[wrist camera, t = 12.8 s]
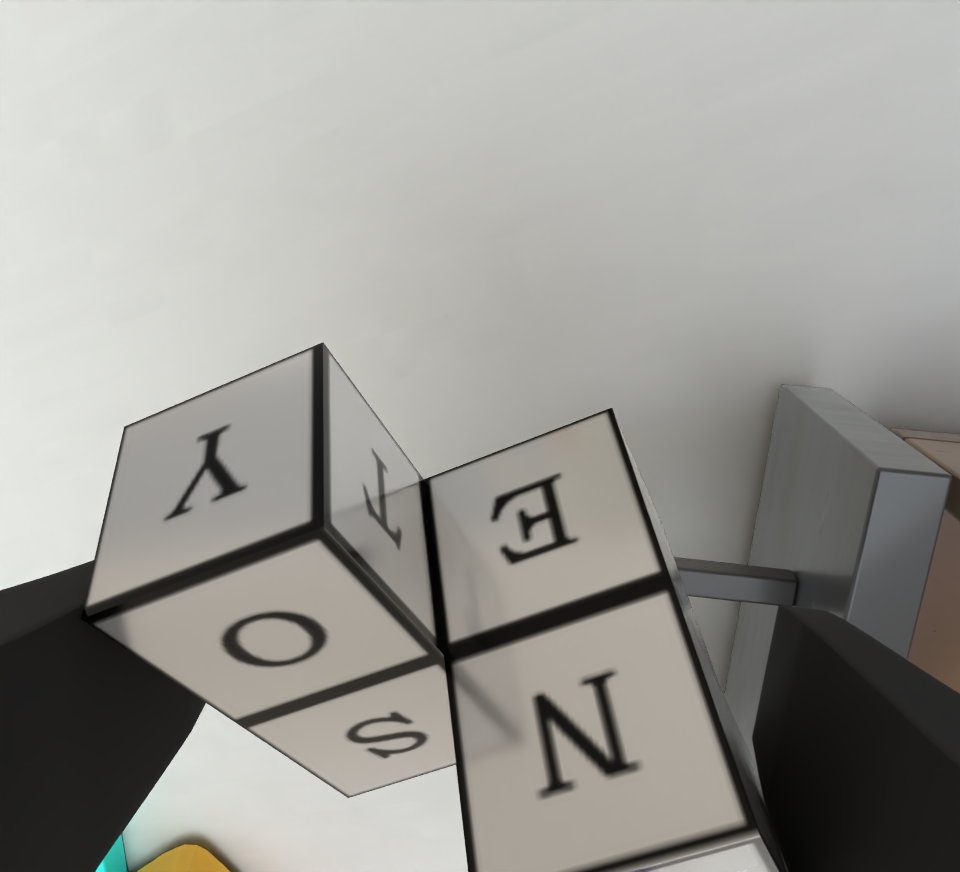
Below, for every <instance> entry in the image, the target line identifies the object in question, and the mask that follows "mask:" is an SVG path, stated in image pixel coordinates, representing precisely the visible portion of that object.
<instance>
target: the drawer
mask: <svg viewBox="0 0 960 872" xmlns="http://www.w3.org/2000/svg"><path fill="white" fill-rule="evenodd" d="M674 560H675V563H676V565H677V568H678V571H679V574H680V577H681V579H682V582H683V585H684V588H685V591H686V593H687V596H694V597H703V598H712V599H721V600H730V601H739V602H741V606H740V611H739V617H738V622H737V628H736V633H735V639H734V644H733V650H732V655H731V661H730V666H729V672H728V677H727V683H726V688H725V694H724V696H725V699H726V701H727V703H728V705H729V707H730V710H731V712H732V714H733V716H734V718H735V721H736V723H737V725H738V727H739V729H740V732H741V734H742V736H743V738H744V741H745V743H746V745H747V747H748V749H749V752H750V754H751V756H752V758H753V761H754V764H755V767H756V769H757V764H756V758H755V753H754V747H753V742H752V735H753V730H754V725H755V720H756V715H757V710H758V705H759V700H760V695H761V690H762V685H763V680H764V675H765V670H766V665H767V660H768V655H769V650H770V645H771V640H772V635H773V630H774V625H775V620H776V615H777V610H778V605H782V606H791V607H800V608H808V609H817V610H825V611H828V612H830V613H832V614H834V615H836V616H838V617H840V618H842V619H844V620H846V621H847V622H849V623H851V624H852V625H854V626H856V627H857V628H859V629H860V630H862V631H864V632H865V633H867V634H868V635H870V636H871V637H873V638H875V639H876V640H878V641H879V642H881V643H882V644H884V645H885V646H887V647H888V648H890V649H891V650H893V651H894V652H896V653H897V654H899V655H900V656H902V657H903V658H905V659H907V660H908V661H910V662H911V663H913V664H914V665H916V666H917V667H919V668H920V669H922V670H923V671H925V672H926V673H928V674H930V675H931V676H933V677H934V678H936V679H937V680H939V681H940V682H942V683H944V684H945V685H947V686H948V687H950V688H952V689H953V690H955V691H956V692H958V693H960V435H958V434H948V433H938V432H927V431H917V430H907V429H897V428H893V429H891V431H889V430H888V429H887V428H885V427H884V426H882V425H881V424H880V423H878V422H877V421H876V420H874V419H873V418H871V417H870V416H869V415H867V414H866V413H864V412H863V411H862V410H860V409H859V408H857V407H856V406H855V405H853V404H852V403H851V402H849V401H848V400H846V399H845V398H844V397H842V396H841V395H839V394H838V393H837V392H835V391H834V390H832V389H827V388H817V387H806V386H796V385H785V384H784V385H781V387H780V391H779V397H778V402H777V408H776V413H775V419H774V424H773V430H772V435H771V441H770V446H769V452H768V457H767V463H766V468H765V474H764V479H763V485H762V490H761V496H760V501H759V507H758V512H757V518H756V523H755V529H754V534H753V540H752V545H751V551H750V556H749V562H748V565H742V564H732V563H723V562H714V561H705V560H696V559H686V558H677V557H674ZM757 772H758V769H757Z"/></svg>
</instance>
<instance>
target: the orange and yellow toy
mask: <svg viewBox="0 0 960 872" xmlns="http://www.w3.org/2000/svg"><path fill="white" fill-rule="evenodd" d="M137 872H230V871H229V870H228V869H227V868H226V867H225V866H224V865H223V864H222V863H221V862H219V861H218V860H217V859H216V858H215V857H214V856H213V855H212V854H211V853H209V852H208V851H207V850H206V849H204V848H202V847H200V846H198V845H187V844H183V845H181V846H179V847H177V848H174V849H172V850H170V851H167V852H165V853H163V854H162V855H160V856H159V857H157V858H156V859H154V860H153V861H151V862H150V863H148V864H147V865H146V866H144V867H143V868H141V869H140V870H138V871H137Z"/></svg>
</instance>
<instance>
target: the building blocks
mask: <svg viewBox="0 0 960 872" xmlns="http://www.w3.org/2000/svg"><path fill="white" fill-rule="evenodd" d="M81 619H82V620H83V621H85V622H86V623H88V624H89V625H91V626H92V627H94V628H95V629H97V630H98V631H100V632H101V633H103V634H104V635H106V636H107V637H109V638H110V639H112V640H113V641H115V642H116V643H118V644H119V645H121V646H122V647H124V648H125V649H127V650H128V651H130V652H131V653H133V654H134V655H136V656H137V657H139V658H140V659H142V660H143V661H145V662H146V663H148V664H149V665H151V666H152V667H154V668H155V669H157V670H158V671H160V672H161V673H163V674H164V675H166V676H167V677H169V678H170V679H172V680H173V681H175V682H176V683H178V684H179V685H180V686H182V687H183V688H185V689H186V690H188V691H189V692H191V693H192V694H194V695H195V696H197V697H198V698H200V699H201V700H203V701H204V702H206V703H207V704H209V705H210V706H212V707H213V708H215V709H216V710H218V711H219V712H221V713H222V714H224V715H225V716H227V717H228V718H230V719H231V720H233V721H234V722H236V723H237V724H239V725H240V726H242V727H243V728H245V729H246V730H248V731H249V732H251V733H252V734H254V735H255V736H257V737H258V738H260V739H261V740H263V741H264V742H266V743H267V744H269V745H270V746H272V747H273V748H275V749H276V750H278V751H279V752H281V753H282V754H284V755H285V756H287V757H288V758H290V759H291V760H293V761H294V762H296V763H297V764H298V765H300V766H301V767H303V768H304V769H306V770H307V771H309V772H310V773H312V774H313V775H315V776H316V777H318V778H319V779H321V780H322V781H324V782H325V783H327V784H328V785H330V786H331V787H333V788H334V789H336V790H337V791H339V792H340V793H342V794H343V795H345V796H346V797H348V798H349V797H353V796H356V795H359V794H362V793H365V792H369V791H372V790H375V789H378V788H382V787H385V786H388V785H391V784H394V783H398V782H401V781H404V780H407V779H411V778H414V777H417V776H420V775H423V774H427V773H430V772H433V771H436V770H439V769H443V768H446V767H449V766H452V765H456V767H457V776H458V785H459V794H460V803H461V811H462V820H463V829H464V838H465V847H466V855H467V864H468V872H788V870H787V867H786V865H785V862H784V859H783V856H782V853H781V850H780V848H779V845H778V842H777V839H776V836H775V833H774V830H773V827H772V824H771V821H770V819H769V816H768V813H767V810H766V807H765V803H764V798H763V793H762V789H761V784H760V779H759V775H758V772H757V769H756V767H755V764H754V761H753V758H752V756H751V754H750V752H749V749H748V747H747V745H746V743H745V741H744V738H743V736H742V734H741V732H740V729H739V727H738V725H737V723H736V721H735V718H734V716H733V714H732V712H731V710H730V707H729V705H728V703H727V701H726V699H725V696H724V694H723V692H722V690H721V688H720V685H719V683H718V681H717V678H716V675H715V672H714V669H713V666H712V664H711V661H710V658H709V655H708V652H707V650H706V647H705V644H704V641H703V638H702V636H701V633H700V630H699V627H698V624H697V622H696V619H695V616H694V613H693V610H692V607H691V605H690V602H689V599H688V596H687V593H686V591H685V588H684V585H683V582H682V579H681V577H680V574H679V571H678V568H677V565H676V563H675V560H674V557H673V554H672V551H671V548H670V546H669V543H668V540H667V537H666V534H665V532H664V529H663V526H662V523H661V521H660V518H659V516H658V514H657V511H656V509H655V507H654V504H653V502H652V500H651V497H650V495H649V493H648V490H647V488H646V486H645V483H644V481H643V479H642V476H641V474H640V472H639V469H638V467H637V465H636V463H635V460H634V458H633V456H632V453H631V451H630V449H629V446H628V444H627V442H626V439H625V437H624V435H623V432H622V430H621V428H620V425H619V423H618V421H617V418H616V416H615V414H614V411H613V409H612V408H610V409H607V410H605V411H602V412H600V413H597V414H594V415H592V416H589V417H587V418H584V419H581V420H579V421H576V422H573V423H571V424H568V425H566V426H563V427H560V428H558V429H555V430H552V431H550V432H547V433H545V434H542V435H539V436H537V437H534V438H531V439H529V440H526V441H524V442H521V443H518V444H516V445H513V446H511V447H508V448H505V449H503V450H500V451H497V452H495V453H492V454H490V455H487V456H484V457H482V458H479V459H476V460H474V461H471V462H469V463H466V464H463V465H461V466H458V467H456V468H453V469H450V470H448V471H445V472H442V473H440V474H437V475H435V476H432V477H429V478H427V479H423V478H422V477H421V475H420V474H419V472H418V471H417V470H416V468H415V467H414V466H413V464H412V463H411V462H410V460H409V459H408V457H407V456H406V455H405V453H404V452H403V451H402V449H401V448H400V447H399V445H398V444H397V442H396V441H395V440H394V438H393V437H392V436H391V434H390V433H389V432H388V430H387V429H386V427H385V426H384V425H383V423H382V422H381V421H380V419H379V418H378V417H377V415H376V414H375V412H374V411H373V410H372V408H371V407H370V406H369V404H368V403H367V402H366V400H365V399H364V397H363V396H362V395H361V393H360V392H359V391H358V389H357V388H356V387H355V385H354V384H353V382H352V381H351V380H350V378H349V377H348V376H347V374H346V373H345V372H344V370H343V369H342V367H341V366H340V365H339V363H338V362H337V361H336V359H335V358H334V357H333V355H332V354H331V352H330V351H329V350H328V348H327V347H326V346H325V344H324V343H320V344H318V345H316V346H313V347H311V348H309V349H306V350H304V351H302V352H299V353H297V354H294V355H292V356H290V357H287V358H285V359H283V360H280V361H278V362H276V363H273V364H271V365H269V366H266V367H264V368H262V369H259V370H257V371H255V372H252V373H250V374H247V375H245V376H243V377H240V378H238V379H236V380H233V381H231V382H229V383H226V384H224V385H222V386H219V387H217V388H215V389H212V390H210V391H207V392H205V393H203V394H200V395H198V396H196V397H193V398H191V399H189V400H186V401H184V402H182V403H179V404H177V405H175V406H172V407H170V408H167V409H165V410H163V411H160V412H158V413H156V414H153V415H151V416H149V417H146V418H144V419H142V420H139V421H137V422H135V423H132V424H130V425H127V426H125V427H124V431H123V435H122V439H121V444H120V448H119V453H118V457H117V462H116V466H115V471H114V475H113V479H112V484H111V488H110V493H109V497H108V502H107V506H106V511H105V515H104V519H103V524H102V528H101V533H100V537H99V542H98V546H97V551H96V555H95V559H94V564H93V568H92V573H91V577H90V582H89V586H88V591H87V595H86V599H85V604H84V608H83V613H82V617H81Z"/></svg>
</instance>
